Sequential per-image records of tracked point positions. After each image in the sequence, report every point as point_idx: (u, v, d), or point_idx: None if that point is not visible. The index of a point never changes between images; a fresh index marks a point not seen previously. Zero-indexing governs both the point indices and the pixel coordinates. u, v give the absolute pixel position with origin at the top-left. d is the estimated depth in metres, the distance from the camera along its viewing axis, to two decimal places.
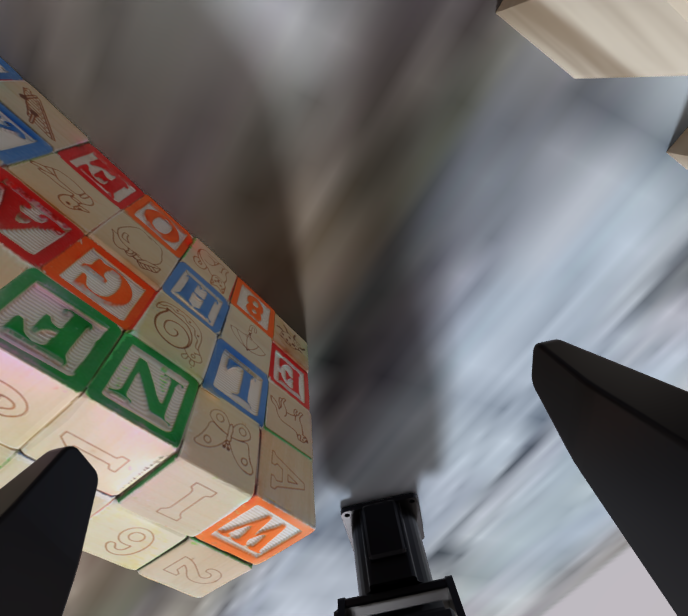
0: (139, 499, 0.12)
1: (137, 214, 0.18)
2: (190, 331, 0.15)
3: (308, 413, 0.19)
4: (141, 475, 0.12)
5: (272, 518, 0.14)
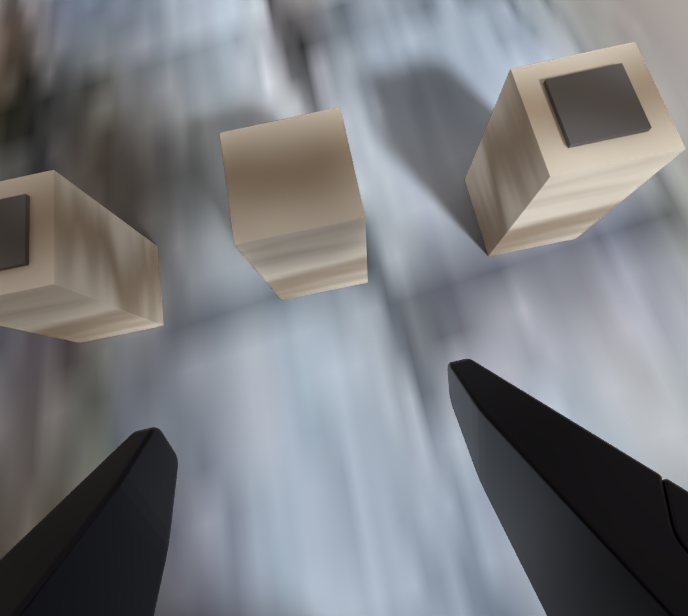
0: None
1: None
2: None
3: None
4: None
5: None
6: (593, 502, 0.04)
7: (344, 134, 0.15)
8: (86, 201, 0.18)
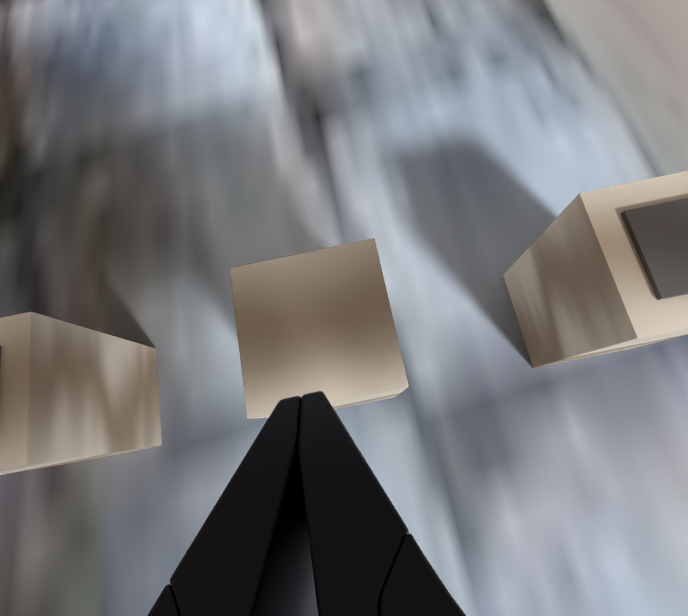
0: None
1: None
2: None
3: None
4: None
5: None
6: (331, 558, 0.04)
7: (380, 274, 0.13)
8: (71, 333, 0.15)
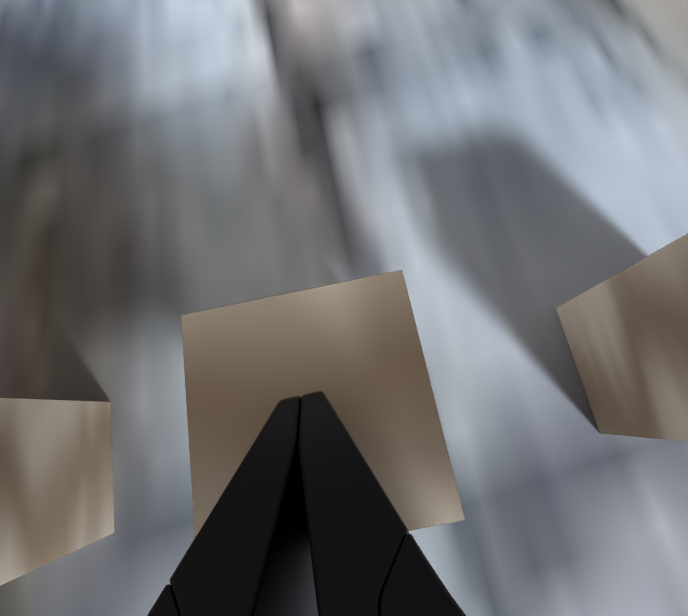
0: None
1: None
2: None
3: None
4: None
5: None
6: (331, 558, 0.04)
7: (412, 326, 0.08)
8: None
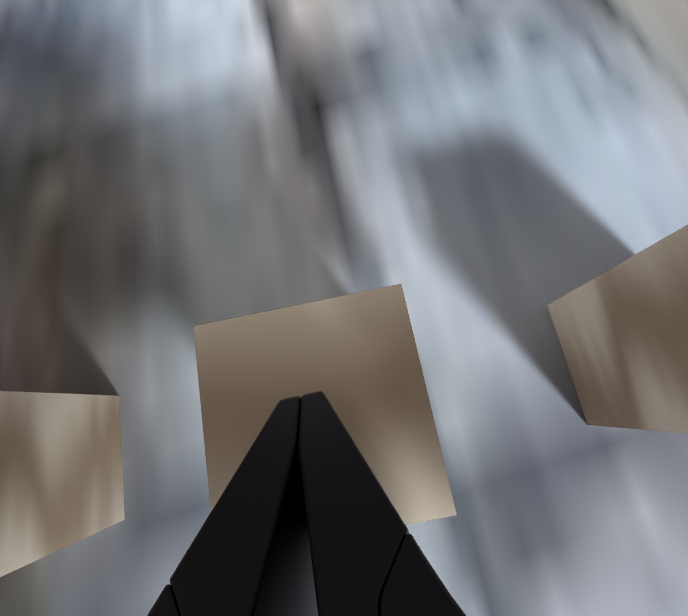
0: None
1: None
2: None
3: None
4: None
5: None
6: (331, 558, 0.04)
7: (410, 337, 0.09)
8: None
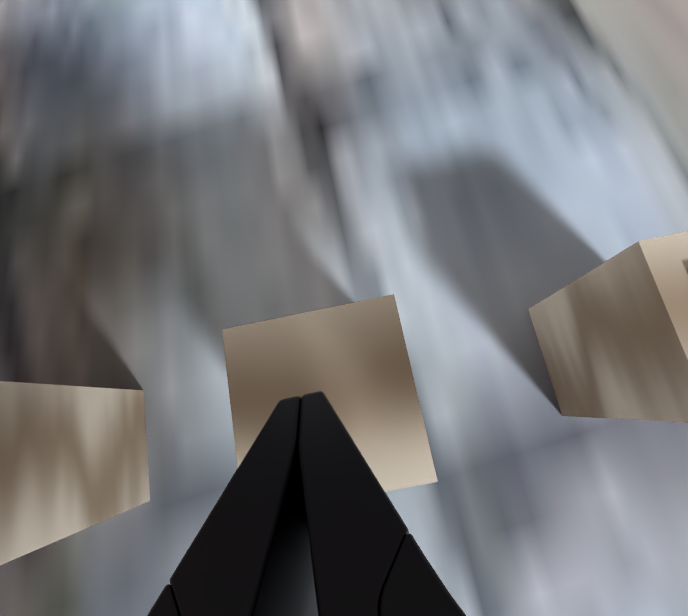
0: None
1: None
2: None
3: None
4: None
5: None
6: (331, 558, 0.04)
7: (401, 339, 0.11)
8: (40, 395, 0.13)
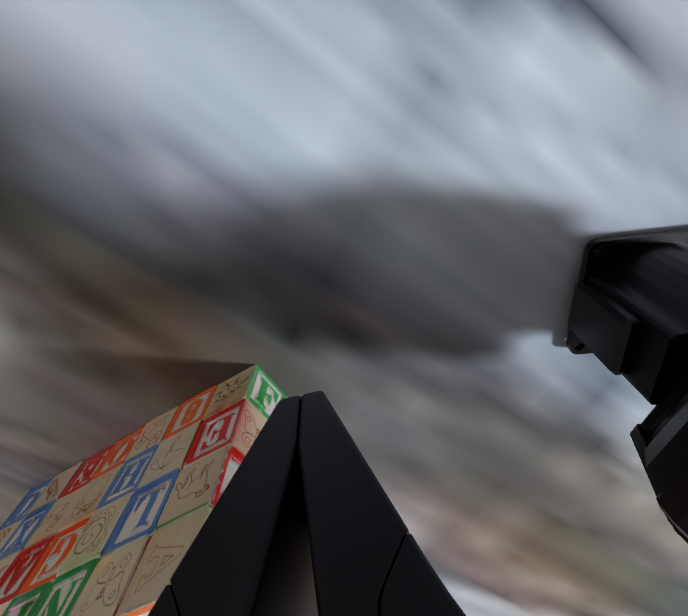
0: None
1: (103, 468, 0.24)
2: (105, 519, 0.18)
3: (223, 449, 0.17)
4: None
5: None
6: (331, 557, 0.04)
7: None
8: None
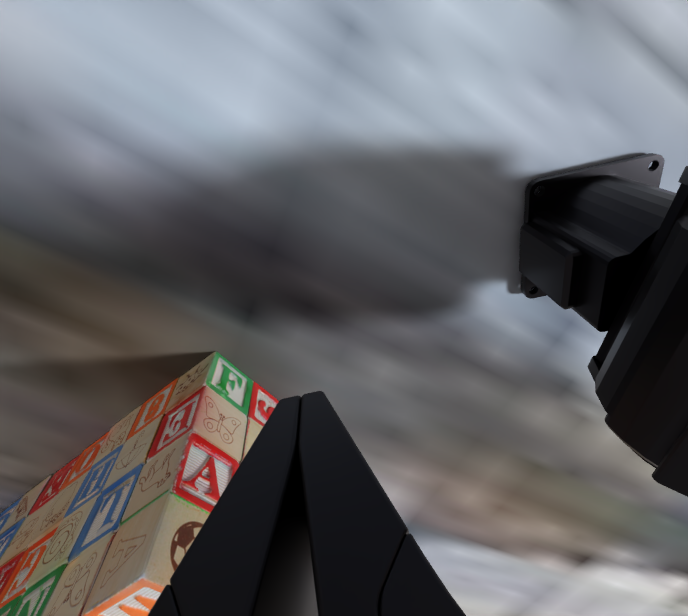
0: None
1: (71, 477, 0.23)
2: (72, 525, 0.18)
3: (184, 436, 0.17)
4: None
5: (125, 603, 0.13)
6: (330, 558, 0.04)
7: None
8: None
